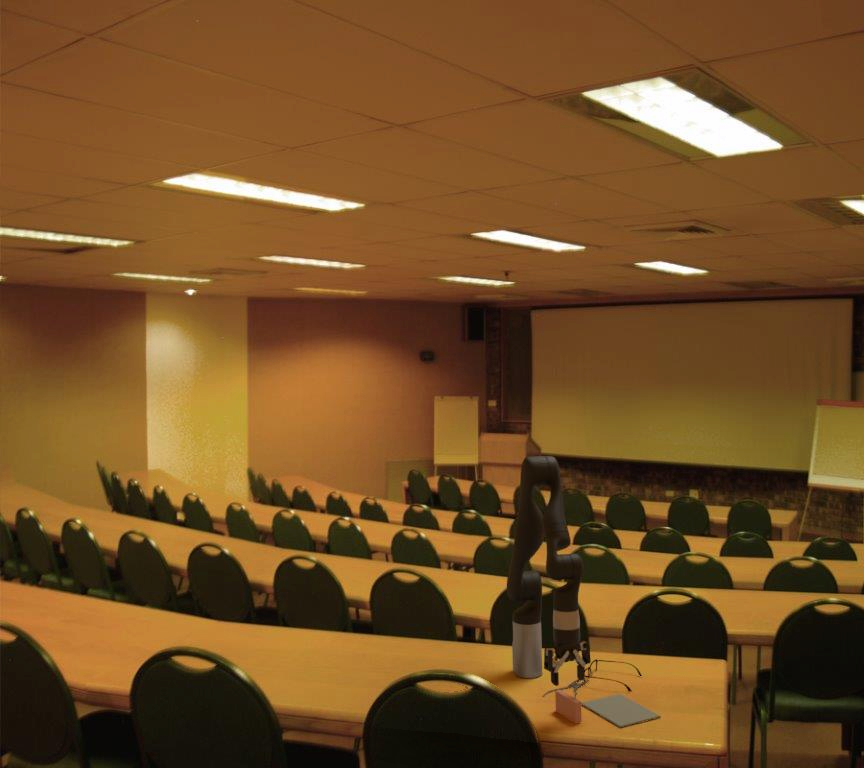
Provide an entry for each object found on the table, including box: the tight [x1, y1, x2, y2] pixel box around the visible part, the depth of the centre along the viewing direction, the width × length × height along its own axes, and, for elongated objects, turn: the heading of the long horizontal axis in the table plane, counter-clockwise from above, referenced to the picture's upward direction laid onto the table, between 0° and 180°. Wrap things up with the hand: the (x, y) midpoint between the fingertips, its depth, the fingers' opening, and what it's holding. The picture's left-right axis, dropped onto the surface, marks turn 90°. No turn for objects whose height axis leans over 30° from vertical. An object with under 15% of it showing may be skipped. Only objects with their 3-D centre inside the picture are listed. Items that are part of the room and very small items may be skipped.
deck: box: [554, 690, 583, 724], centre depth 229 cm, size 10×2×6 cm, turn 25°
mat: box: [581, 693, 661, 729], centre depth 232 cm, size 18×14×1 cm
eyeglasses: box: [583, 658, 643, 692], centre depth 255 cm, size 16×16×4 cm
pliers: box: [541, 678, 590, 699], centre depth 249 cm, size 10×1×20 cm
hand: (568, 682), depth 229 cm, fingers open, 8 cm apart
